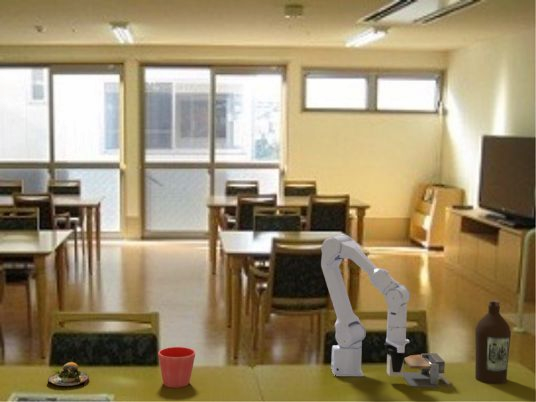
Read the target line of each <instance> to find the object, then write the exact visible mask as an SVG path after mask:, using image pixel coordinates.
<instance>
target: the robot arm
mask: <svg viewBox="0 0 536 402" xmlns="http://www.w3.org/2000/svg"><path fill="white" fill-rule="evenodd" d="M320 251H321V261H320V267H321V271H322V273H323V277H324V279H325V284H326V287H327V289H328V293H329V296H330V300H331V302H332V305H333V310H334V312H335V315H336V321H335V323H334V329H335V334H334V335H335V336H334V337H335V341H336V342H337V345H335V344H334V345H332V346H331V362H330V370H331V369H332V370H331V372H332V374H334V375H333V376H334V377H364V372H363V370H362V346H363V342H362V341H363V340H364V339H365V338H366V332H367V331H366V328H365V327H364V324H362V322H361V321H360V318H359V316H357V315H356V314H355V313H354V310H353V308H352V304H351V301H350V298H349V295H348V291H347V289H346V285H345V282H344V278H343V276H342V272H341V268H340V266H341V264H342V262H343V260H344V259H348V260H350V261H352V262H353V263H354V264H355V265H357V266H358V267H359V268H360V269H361V270H363V272H365V273H366V274H367V275H368V276H369V277H368V278H369V282H370V283H371V284H372V285H373V286H374V288H376V289H377V291H379V293H380V294H381V295H383V296H384V300H385V303H386V305H387V323H386V338H385V342H384V343H383V345H384V347H385V350H386V354H390V356H391V360H392V369H393V372H400V371H401V368H402V364H403V361H404V362H405V360H404V358H405V357H407V355H408V353H409V352H408V350H407V349H405V347H406V345H407V344H410V340H409V339H408V338H407V337H406V336H407V314H408V313H407V311H408V310H407V309H408V302H409V301H410V299H411V291H410V290H409V288H407V286H406V285H404V284H401V283H400V282H399V281H396V280H395V279H394V278H393V277H392V276H391V275H390V274H389V273H390V272H389V270H388V269H384V268H379V267H377V266H376V265H375V264H374V263H373V262H372V260H370V258H369V257H368V256H367V255H366V254H365V253H364V252H363V250H362V249H361V248H360V247H359V246H358V244H357V242H356V241H354V240H353V239H352V238H351V237H350V236H349V235H347V234H341V235H337V236H330V237H327V238H325V239H324V241H323V242H322V244H321V246H320ZM335 375H336V376H335Z"/></svg>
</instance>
